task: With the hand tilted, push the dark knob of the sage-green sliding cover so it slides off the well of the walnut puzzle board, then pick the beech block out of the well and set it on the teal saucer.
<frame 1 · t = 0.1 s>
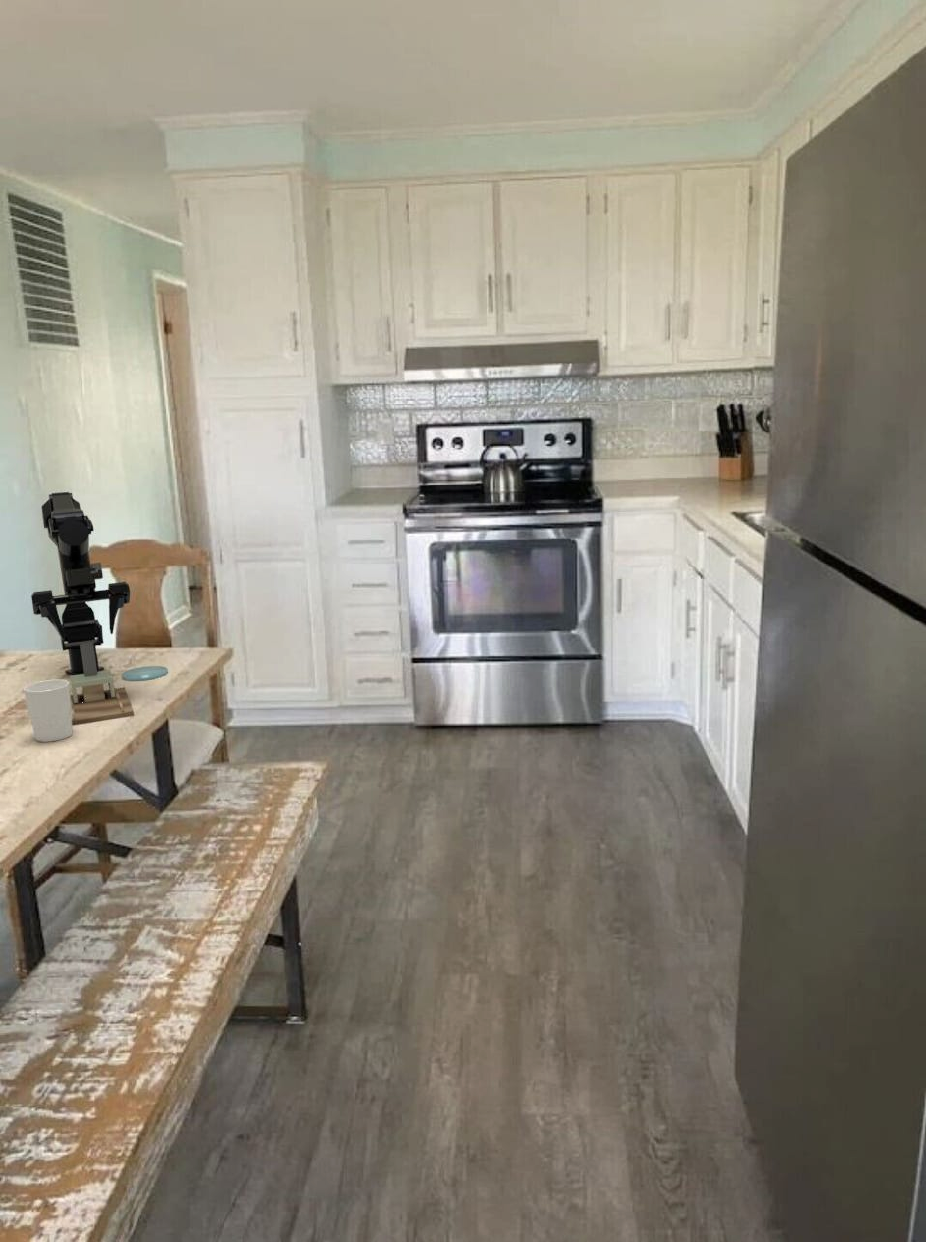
hand: (88, 636, 199), 15 cm above the table, tool tilted 35°, fingers open, 9 cm apart
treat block: (94, 701, 206), resting on puzzle board
puzzle board: (96, 708, 201), on the table
sliding cover: (90, 671, 205), point 7 cm above the table, slide at 0.0 cm
white cup: (54, 737, 186), on the table
teal saucer: (145, 675, 225), on the table
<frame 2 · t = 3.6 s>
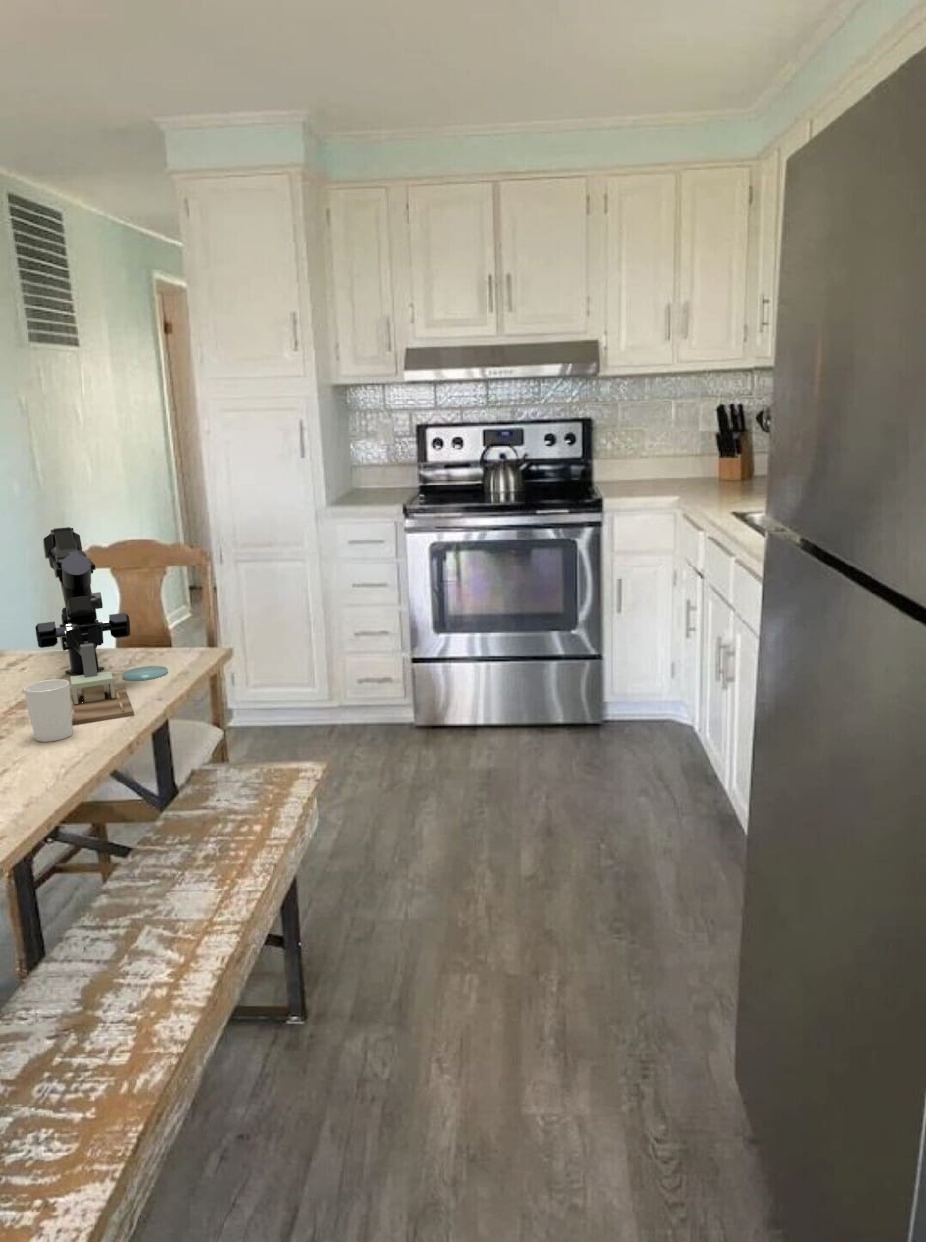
hand: (89, 663, 207), 8 cm above the table, tool tilted 45°, fingers closed, pressing on sliding cover
sliding cover: (90, 672, 204), point 7 cm above the table, slide at 0.8 cm, touching gripper
everything else where it was.
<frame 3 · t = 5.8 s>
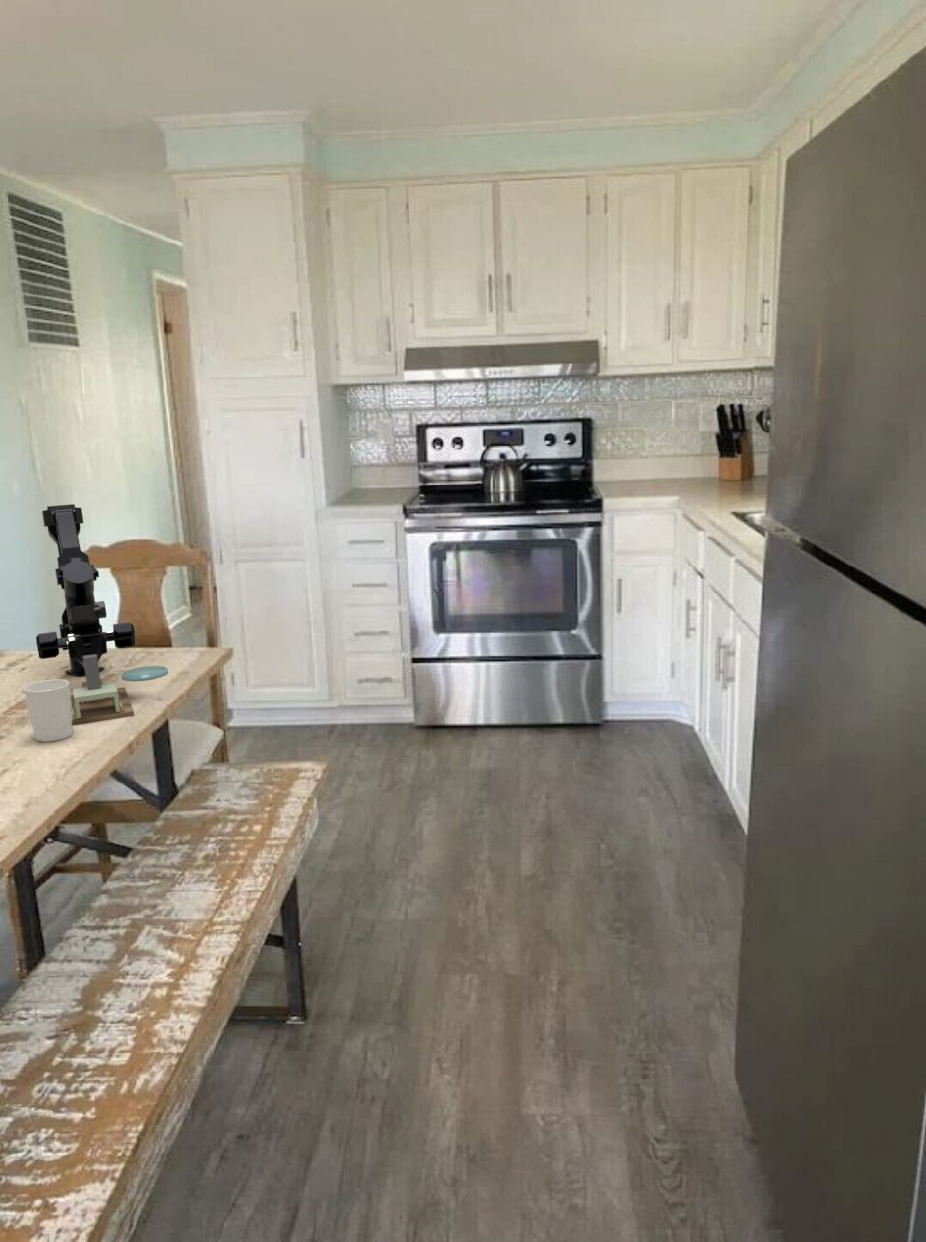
hand: (92, 675, 198), 8 cm above the table, tool tilted 45°, fingers closed, pressing on sliding cover
sliding cover: (94, 684, 195), point 7 cm above the table, slide at 11.2 cm, touching gripper
everything else where it was.
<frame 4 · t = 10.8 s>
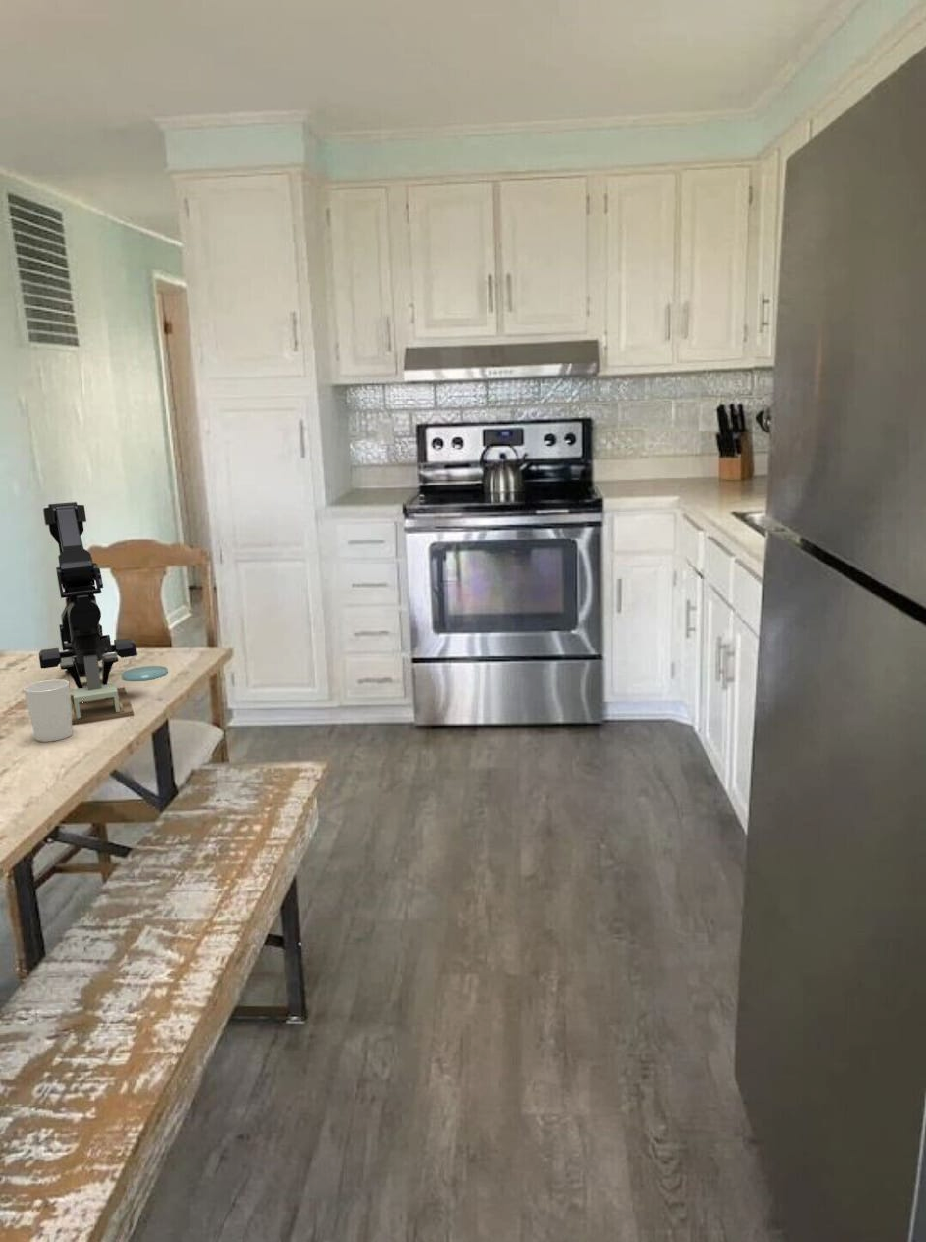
hand: (93, 692, 206), 2 cm above the table, tool pointing down, fingers closed on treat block, 4 cm apart
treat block: (94, 701, 206), resting on puzzle board, touching gripper
sliding cover: (94, 684, 195), point 7 cm above the table, slide at 11.3 cm
everything else where it was.
when the fingers open (4 cm above the table, at t = 14.4 s): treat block drops 2 cm, resting on teal saucer.
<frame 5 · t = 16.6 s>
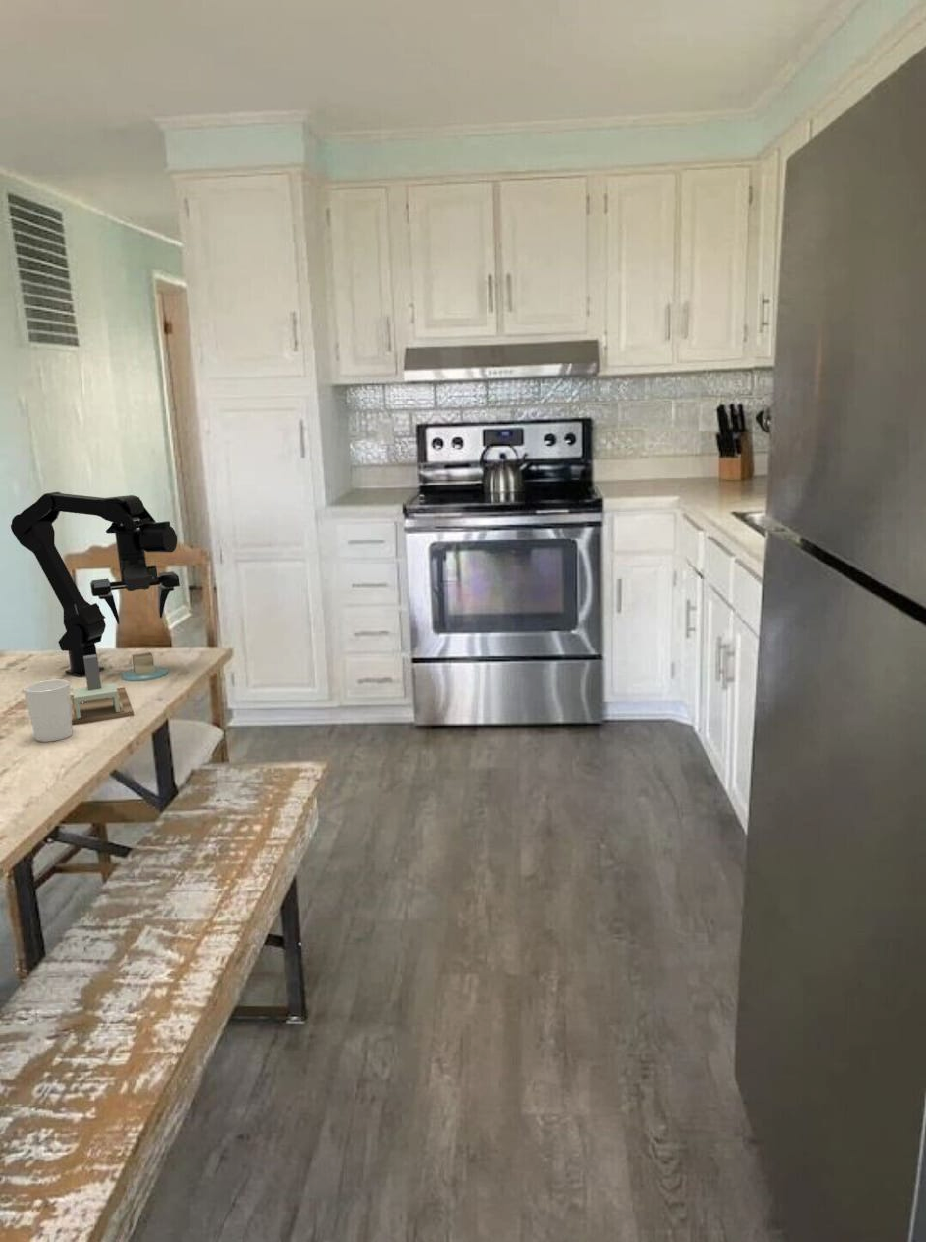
hand: (139, 620, 223), 12 cm above the table, tool pointing down, fingers open, 9 cm apart
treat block: (144, 672, 224), point 1 cm above the table, touching teal saucer
everything else where it was.
at the end: sliding cover slide at 11.3 cm; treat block inside the target area on the teal saucer (0.1 cm from its centre), point 0.8 cm above the teal saucer's base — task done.
